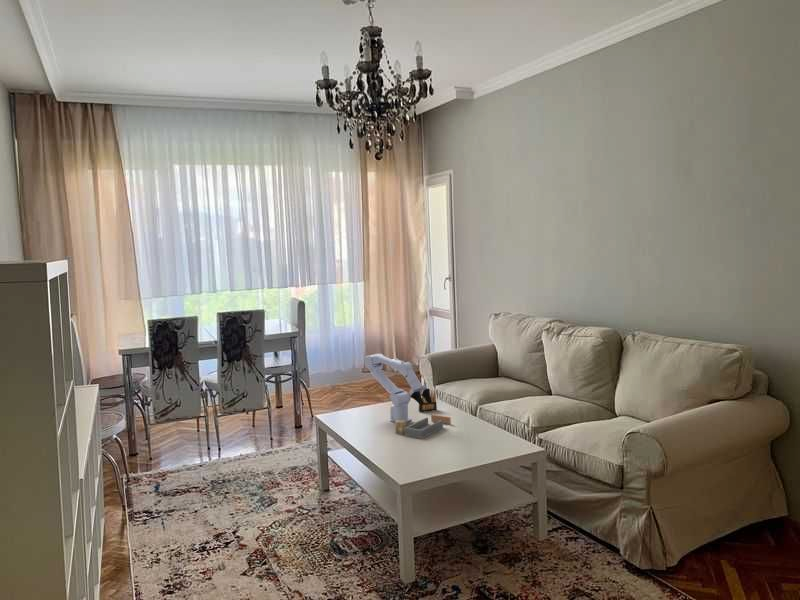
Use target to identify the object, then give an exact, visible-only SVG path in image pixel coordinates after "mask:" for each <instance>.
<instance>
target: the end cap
mask: <svg viewBox="0 0 800 600" xmlns="http://www.w3.org/2000/svg"><path fill="white" fill-rule="evenodd" d="M430 416H431V417H430V419H431V421H430V422H434V423H436V422H438V421H440V420H443V424H448V425H451V424H452V421H451V416H448V415H441V414H431V415H430Z"/></svg>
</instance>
